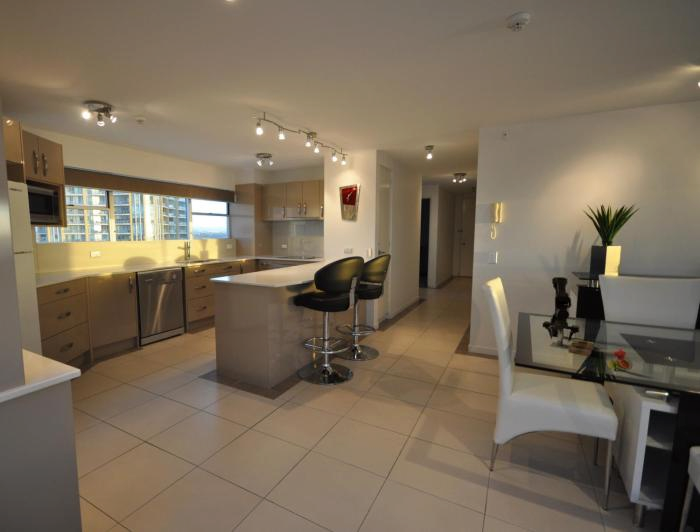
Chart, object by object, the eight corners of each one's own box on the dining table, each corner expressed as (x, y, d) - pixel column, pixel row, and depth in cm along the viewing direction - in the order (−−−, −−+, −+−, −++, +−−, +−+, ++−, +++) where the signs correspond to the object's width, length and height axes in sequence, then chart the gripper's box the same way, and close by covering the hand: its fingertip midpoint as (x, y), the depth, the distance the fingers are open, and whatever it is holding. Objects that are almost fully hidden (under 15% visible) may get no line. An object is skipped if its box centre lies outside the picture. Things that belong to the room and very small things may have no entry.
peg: (556, 345, 205) (557, 329, 204) (557, 344, 207) (558, 328, 206) (562, 346, 203) (563, 330, 202) (563, 345, 205) (564, 329, 204)
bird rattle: (627, 374, 170) (607, 362, 176) (640, 357, 165) (619, 345, 171) (624, 377, 166) (604, 365, 172) (637, 360, 161) (616, 348, 167)
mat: (549, 346, 205) (549, 346, 205) (553, 342, 212) (553, 341, 212) (566, 349, 199) (567, 349, 199) (569, 345, 206) (570, 344, 206)
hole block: (568, 352, 194) (568, 347, 194) (574, 343, 209) (574, 339, 208) (589, 356, 187) (589, 351, 187) (593, 347, 202) (594, 342, 202)
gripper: (541, 315, 203) (539, 340, 205) (577, 320, 191) (576, 347, 193) (545, 312, 212) (544, 336, 213) (580, 316, 199) (579, 342, 201)
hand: (560, 340), depth 205 cm, fingers open, 9 cm apart
